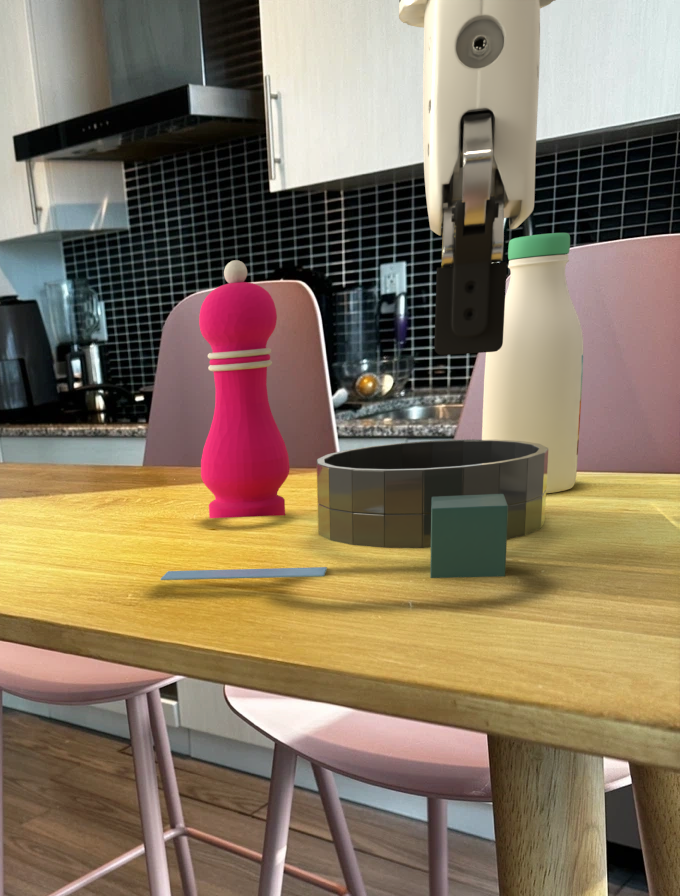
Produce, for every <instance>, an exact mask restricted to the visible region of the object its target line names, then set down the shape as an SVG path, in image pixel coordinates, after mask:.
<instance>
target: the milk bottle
mask: <svg viewBox="0 0 680 896" xmlns="http://www.w3.org/2000/svg"><path fill="white" fill-rule="evenodd" d="M570 249H571V236H570V233H568V232H553V233H552V232H551V233H541V234H540V233H539V234H531V235H526V236H524V235H523V236H519V237H514V238H512V239H510V240H509V242H508V249H507V258H508V260H509V261H508V264H507V269H509V270H510V278H509V283H508V286H507V290H506V292H505V311H504V330H503V344H502V347H501V348H500V349H499V350H498V351H495V352H485V360H484V361H485V362H484V377H483V396H482V397H483V400H482V401H483V402H482V425H481V427H482V429H481V440H512V441H525V442H531V443H538V444H541V445H543V446H545V447H547V448H548V449H549V450H548V469H547V487H546V494H552V493H559V492H564V491H567V490H570V489H572V488H573V487H575V486H574V485H575V484H576V481H577V471H578V458H579V444H580V443H579V442H580V427H581V413H582V396H583V395H582V394H583V393H582V392H583V378H584V377H583V376H584V375H583V374H584V335H583V330H582V325H581V322H580V318H579V316H578V312H577V310H576V308H575V305H574V302H573V299H572V298H571V295H570V290H569V287H568V284H567V277H566V266H567V263H569V261H570V259H569V254H570Z"/></svg>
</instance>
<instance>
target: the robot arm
mask: <svg viewBox="0 0 680 896" xmlns="http://www.w3.org/2000/svg"><path fill="white" fill-rule="evenodd" d="M398 2H399V4H398V5H399V7H398V19H399V20H400V22H402V23H403V24H406V25H408V26H410V27H416V28H422V29H423V61H422V63H423V66H422V67H423V68H422V71H423V72H422V146H423V147H422V148H423V149H422V151H423V173H424V175H423V176H424V187H425V199H426V207H427V215H428V216H427V217H428V222H429V230H431V231H432V232H433V233H435V234H436V235H438V236H442V237H441V238H442V239H441V242H442V243H441V244H442V245H441V267H436V281H435V282H436V283H435V312H434V313H435V314H434V315H435V316H434V343H433V344H434V345H433V348H434V351H435V353H436V354H437V355H440V356H448V355H449V356H451V355H466V354H481V353H486V352H495V351H498V350H499V349H500V348H501V347H502V344H503V330H504V311H505V296H506V292H507V290H506V288H507V271H508V261H503V259H504V241H505V240H504V239H505V238H504V237H505V235H504V234H505V233H504V232H505V231H504V230H505V227H504V226H505V225H504V224H505V220H504V219H508V226H509V230H514V229H518V227H519V226H520V225H522V223H523V222H525V221H526V219H528V217H530V215H531V214H532V213H533V211H534V208H535V196H536V195H535V194H536V191H535V190H536V159H537V158H536V157H537V156H536V155H537V154H536V153H537V131H538V110H539V89H540V67H541V66H540V64H541V63H540V62H541V61H540V59H541V9H542V8H545V7H547V6H549V5H550V4H552V3H553V2H556V0H398Z"/></svg>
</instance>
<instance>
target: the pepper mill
mask: <svg viewBox="0 0 680 896" xmlns="http://www.w3.org/2000/svg"><path fill="white" fill-rule="evenodd" d="M224 267H225V268H224V271H223V276H224V279H225V281H226V282H227V283H225V284H222V285H220V286H218V287H216V288H214V289H213V290H212V291H210V292H209V293H208V295H206V297H205V298H204V300H203V302H202V303H201V306H200V310H199V317H198V321H199V322H198V324H199V330H200V333H201V335H202V337H203V338H204V340H205V341H206V342H207V343H208V344H209V345H210V348H211V352H209V353H208V354H207V358H208V359H209V362H208V364H209V365H208V371H210V372H213V379H214V387H215V388H214V389H215V401H214V403H215V405H214V411H213V418H212V421H211V425H210V428H209V431H208V434H207V436H206V439H205V443H204V446H203V450H202V455H201V460H200V477H201V480H202V482H203V484H204V485H205V487H206V488H207V489H208V490H209V491H210V492H211V494H213V496H214V499H213V500H212V501H210V503H209V504H208V515H209V517H208V518H209V519H223V518H224V519H226V518H228V519H229V518H251V517H253V518H255V517H278V516H286V503H285V501H286V500H285V498H284V497H283V496H281V495H278V492H279V490H280V489H281V486H283V485H284V483H285V482H286V480H287V478H288V476H289V474H290V469H291V468H290V466H291V465H290V459H289V457H290V456H289V453H288V449H287V446H286V443H285V441H284V438H283V436H282V434H281V431H280V429H279V427H278V424H277V423H276V420H275V417H274V415H273V413H272V409H271V406H270V402H269V396H268V387H267V386H268V385H267V382H268V381H267V379H268V367H270V366H272V365H273V361H272V360H271V355H270V354H271V353H272V351H273V350H272V349H271V348H270V347H267V343H268V341H269V339H270V338H271V336H272V334H273V333H274V332H275V330H276V327H277V320H278V319H277V318H278V315H277V308H276V304H275V301H274V299H273V297H272V295H271V294H270V293H269V291H268V290H266V288H264V287H263V286H260V285H258V284H257V283H253V282H247V281H246V280H247V277H248V269H247V266H246V264H245V263H244V262H243V261H240V260H238V259H235V260H231V261H230V262H228V263H227V264H226V265H225V266H224Z"/></svg>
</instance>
